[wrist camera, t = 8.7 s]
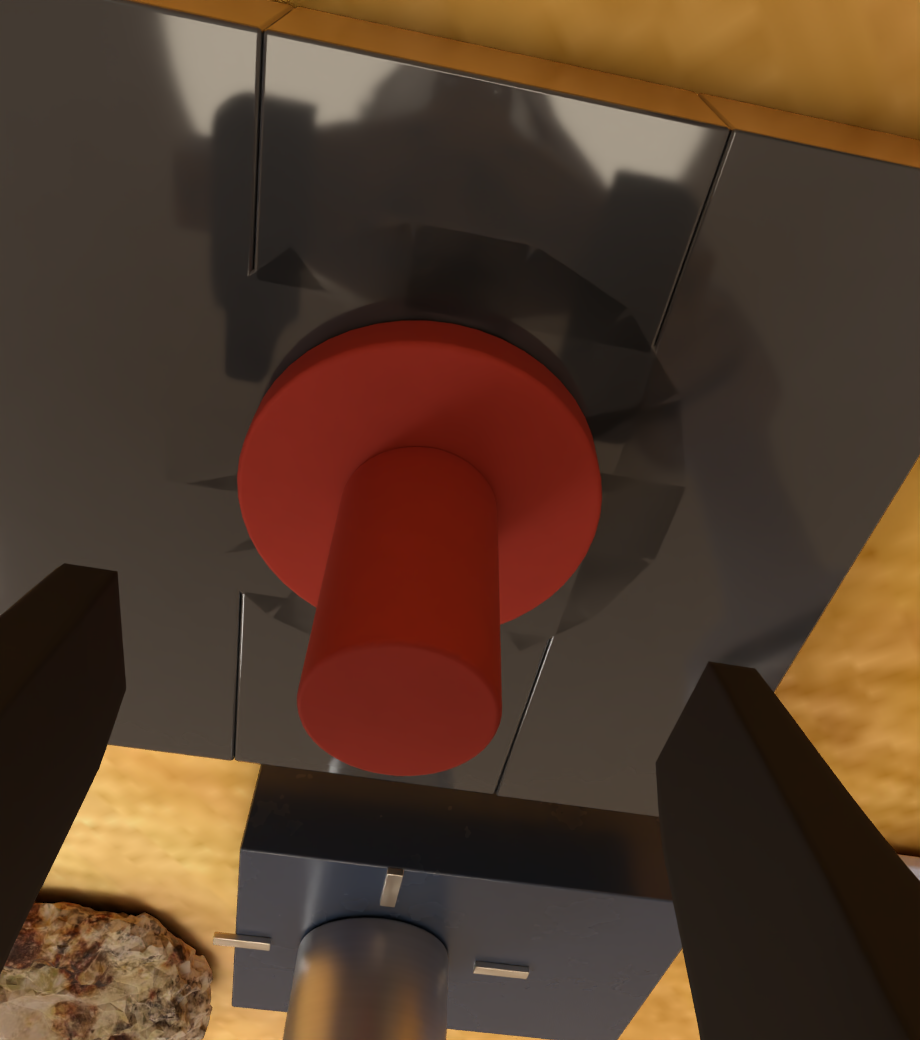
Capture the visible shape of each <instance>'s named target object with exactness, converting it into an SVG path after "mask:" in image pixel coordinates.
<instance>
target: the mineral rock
mask: <svg viewBox="0 0 920 1040" xmlns="http://www.w3.org/2000/svg"><path fill="white" fill-rule="evenodd" d="M195 951H196V950H195V949H193V948H192V947H190V946H189V945H187V944H186V943H184V942H183V941H182V940H181V939H180V938H176V937H175V936H174V935H173V934H172V933H170V932H169V931H167V929H166V928H165V927H164V926H163V925H162V924H161V923H160V921H159V920H157V919H156V918H154V917H152V916H151V915H149V914H147V913H145V912H144V913H142V914H140V915H137V916H134V915H131V914H130V916H129V915H127V914H126V913H124V912H122V913H114V912H109V911H95V910H93V909H92V908H89V907H82V906H81V905H79V904H74V903H68V902H58V903H55V904H49V903H34V904H33V906H32V908H31V910H30V912H29V914H28V916H27V918H26V920H25V922H24V924H23V926H22V928H21V931H20V933H19V935H18V937H17V939H16V941H15V943H14V945H13V947H12V949H11V951H10V954H9V956H8V958H7V960H6V963H5V965H4V967H3V970H2V972H1V974H0V1040H201V1039H203V1038H204V1035H205V1032H206V1030H207V1026H208V1023H209V1019H210V1014H211V1011H212V1007H211V1005H210V1001H211V989H210V984H211V982H212V980H213V976H212V970H211V968H210V967H209V965H208V963H207V961H206V959H205V957H204V955H200V956H197V955H195Z"/></svg>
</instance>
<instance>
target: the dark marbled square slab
mask: <svg viewBox="0 0 920 1040" xmlns="http://www.w3.org/2000/svg"><path fill="white" fill-rule="evenodd" d="M394 321H436V322H444V323H452V324H457V325H461V326H465V327H469V328H473V329H477V330H480V331H482V332H485V333H487V334H490V335H493V336H495V337H498V338H501V339H503V340H505V341H506V342H508V343H510V344H512V345H514V346H516V347H518V348H519V349H521V350H523V351H525V352H526V353H528V354H529V355H530V356H532V357H533V358H535V359H536V360H537V361H539V362H540V363H541V364H543V365H544V366H545V367H546V368H547V369H548V370H549V371H550V372H551V373H553V374H554V375H555V376H556V377H557V378H558V379H559V380H560V381H561V382H562V384H563V385H564V386H565V387H566V389H567V390H568V391H569V392H570V394H571V395H572V396H573V397H574V399H575V400H576V402H577V404H578V406H579V407H580V409H581V411H582V413H583V414H584V416H585V418H586V421H587V423H588V426H589V428H590V431H591V434H592V436H593V441H594V445H595V450H596V454H597V459H598V464H599V470H600V475H601V485H602V504H601V513H600V519H599V522H598V526H597V530H596V533H595V536H594V538H593V541H592V543H591V545H590V547H589V550H588V552H587V554H586V555H585V557H584V559H583V560H582V562H581V563H580V565H579V566H578V568H577V569H576V571H575V572H574V573H573V574H572V576H571V577H570V578H569V579H568V580H567V581H566V583H565V584H564V585H563V586H562V587H561V588H560V589H558V590H557V591H556V592H555V593H554V594H553V595H552V596H551V597H550V598H548V599H547V600H545V601H544V602H543V603H541V604H540V605H538V606H537V607H535V608H534V609H532V610H530V611H529V612H527V613H525V614H523V615H521V616H519V617H517V618H516V619H513V620H511V621H508V622H506V623H503V624H501V625H500V642H501V685H502V717H501V721H500V725H499V727H498V729H497V732H496V734H495V735H494V737H493V739H492V740H491V742H490V743H489V744H488V745H487V746H486V747H485V749H484V750H483V751H481V752H480V753H479V754H478V755H476V756H475V757H474V758H472V759H470V760H469V761H467V762H465V763H463V764H461V765H459V766H457V767H454V768H451V769H448V770H446V771H441V772H437V773H433V774H426V775H417V776H394V775H385V774H379V773H373V772H369V771H366V770H362V769H359V768H356V767H353V766H350V765H348V764H346V763H344V762H342V761H340V760H338V759H336V758H334V757H333V756H331V755H330V754H328V753H327V752H325V751H324V750H323V749H321V748H320V747H319V746H318V745H317V744H316V743H315V742H314V741H313V740H312V739H311V737H310V736H309V735H308V733H307V732H306V730H305V728H304V727H303V725H302V722H301V720H300V717H299V714H298V708H297V693H298V688H299V683H300V679H301V675H302V670H303V666H304V661H305V657H306V652H307V648H308V644H309V639H310V635H311V630H312V626H313V621H314V617H315V613H316V607H314V606H313V605H311V604H310V603H308V602H307V601H305V600H304V599H302V598H301V597H299V596H298V595H297V594H296V593H295V592H293V591H292V590H291V589H290V588H289V587H288V586H286V585H285V584H284V583H283V582H282V581H281V580H280V579H279V578H278V577H277V576H276V575H275V573H274V572H273V571H272V570H271V569H270V568H269V567H268V565H267V564H266V562H265V561H264V560H263V558H262V557H261V556H260V554H259V553H258V551H257V549H256V547H255V545H254V544H253V542H252V540H251V538H250V536H249V534H248V531H247V528H246V526H245V523H244V520H243V517H242V513H241V509H240V504H239V499H238V486H237V473H238V465H239V457H240V453H241V450H242V447H243V443H244V440H245V437H246V434H247V432H248V430H249V427H250V425H251V422H252V420H253V418H254V416H255V413H256V411H257V409H258V407H259V405H260V403H261V401H262V399H263V397H264V396H265V394H266V393H267V391H268V390H269V389H270V387H271V386H272V384H273V383H274V381H275V380H276V379H277V378H278V377H279V376H280V375H281V374H282V373H283V372H284V371H285V370H286V369H287V368H288V367H289V366H290V365H291V364H292V363H293V362H295V361H296V360H297V359H298V358H300V357H301V356H302V355H304V354H305V353H306V352H307V351H309V350H311V349H313V348H314V347H316V346H318V345H320V344H321V343H323V342H325V341H327V340H328V339H331V338H333V337H336V336H338V335H341V334H343V333H346V332H348V331H351V330H354V329H358V328H362V327H366V326H370V325H373V324H378V323H386V322H394ZM919 456H920V140H917V139H912V138H907V137H903V136H898V135H893V134H889V133H884V132H879V131H875V130H870V129H866V128H861V127H856V126H852V125H847V124H842V123H838V122H833V121H829V120H824V119H819V118H815V117H810V116H805V115H801V114H796V113H791V112H787V111H782V110H778V109H773V108H768V107H764V106H759V105H754V104H750V103H745V102H740V101H736V100H731V99H727V98H722V97H717V96H713V95H708V94H703V93H699V94H698V95H697V94H696V93H695V92H694V91H689V90H684V89H680V88H675V87H671V86H666V85H661V84H657V83H652V82H647V81H643V80H638V79H633V78H629V77H624V76H620V75H615V74H610V73H606V72H601V71H596V70H592V69H587V68H582V67H578V66H573V65H569V64H564V63H559V62H555V61H550V60H545V59H541V58H536V57H531V56H527V55H522V54H518V53H513V52H508V51H504V50H499V49H494V48H490V47H485V46H480V45H476V44H471V43H467V42H462V41H457V40H453V39H448V38H443V37H439V36H434V35H430V34H425V33H420V32H416V31H411V30H406V29H402V28H397V27H392V26H388V25H383V24H379V23H374V22H369V21H365V20H360V19H355V18H351V17H346V16H341V15H337V14H332V13H328V12H323V11H318V10H314V9H309V8H304V7H300V6H299V7H296V8H294V9H293V7H292V6H291V5H290V4H285V3H281V2H276V1H271V0H0V615H1V614H3V613H4V612H5V611H6V610H7V609H9V608H10V607H11V606H12V605H13V604H14V603H16V602H17V601H18V600H19V599H20V598H21V597H23V596H24V595H25V594H26V593H27V592H29V591H30V590H31V589H32V588H33V587H34V586H36V585H37V584H38V583H39V582H40V581H41V580H43V579H44V578H45V577H46V576H47V575H49V574H50V573H51V572H52V571H53V570H55V569H56V568H58V567H59V566H61V565H62V564H64V563H66V564H73V565H80V566H86V567H93V568H99V569H106V570H112V571H118V584H119V598H120V611H121V624H122V637H123V651H124V664H125V677H126V691H125V694H124V697H123V700H122V703H121V706H120V709H119V712H118V715H117V718H116V721H115V724H114V727H113V730H112V733H111V736H110V739H109V741H108V744H107V745H115V746H122V747H130V748H138V749H145V750H153V751H161V752H168V753H176V754H184V755H191V756H199V757H207V758H214V759H222V760H230V761H231V760H233V759H234V757H235V760H237V761H241V762H248V763H256V764H264V765H271V766H279V767H286V768H294V769H302V770H309V771H317V772H325V773H332V774H340V775H348V776H355V777H363V778H371V779H378V780H386V781H394V782H401V783H409V784H416V785H424V786H432V787H439V788H447V789H455V790H462V791H470V792H478V793H485V794H494V793H495V792H496V795H497V796H502V797H510V798H518V799H525V800H533V801H541V802H548V803H556V804H564V805H571V806H579V807H587V808H594V809H602V810H610V811H617V812H625V813H632V814H640V815H648V816H655V817H659V810H658V796H657V779H656V761H657V759H658V757H659V755H660V753H661V751H662V749H663V747H664V745H665V744H666V742H667V740H668V738H669V736H670V734H671V732H672V730H673V728H674V726H675V724H676V723H677V721H678V719H679V717H680V715H681V713H682V711H683V709H684V707H685V705H686V704H687V702H688V700H689V698H690V696H691V694H692V692H693V690H694V688H695V686H696V684H697V683H698V681H699V679H700V677H701V675H702V673H703V671H704V669H705V667H706V665H707V663H708V662H709V661H710V662H716V663H723V664H730V665H736V666H743V667H749V668H755V669H756V670H757V671H758V672H759V674H760V675H761V676H762V677H763V679H764V680H765V681H766V683H767V684H768V685H769V687H770V688H771V689H772V691H773V692H775V690H776V689H777V687H778V686H779V684H780V682H781V681H782V679H783V677H784V676H785V674H786V673H787V671H788V669H789V668H790V666H791V664H792V663H793V661H794V660H795V658H796V656H797V655H798V653H799V651H800V650H801V648H802V646H803V645H804V643H805V642H806V640H807V638H808V637H809V635H810V633H811V632H812V630H813V629H814V627H815V625H816V624H817V622H818V620H819V619H820V617H821V616H822V614H823V612H824V611H825V609H826V607H827V606H828V604H829V603H830V601H831V599H832V598H833V596H834V594H835V593H836V591H837V590H838V588H839V586H840V585H841V583H842V581H843V580H844V578H845V577H846V575H847V573H848V572H849V570H850V568H851V567H852V565H853V564H854V562H855V560H856V559H857V557H858V555H859V554H860V552H861V551H862V549H863V547H864V546H865V544H866V542H867V541H868V539H869V538H870V536H871V534H872V533H873V531H874V529H875V528H876V526H877V524H878V523H879V521H880V520H881V518H882V516H883V515H884V513H885V511H886V510H887V508H888V507H889V505H890V503H891V502H892V500H893V498H894V497H895V495H896V494H897V492H898V490H899V489H900V487H901V485H902V484H903V482H904V481H905V479H906V477H907V476H908V474H909V472H910V471H911V469H912V468H913V466H914V464H915V463H916V461H917V459H918V458H919Z"/></svg>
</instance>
